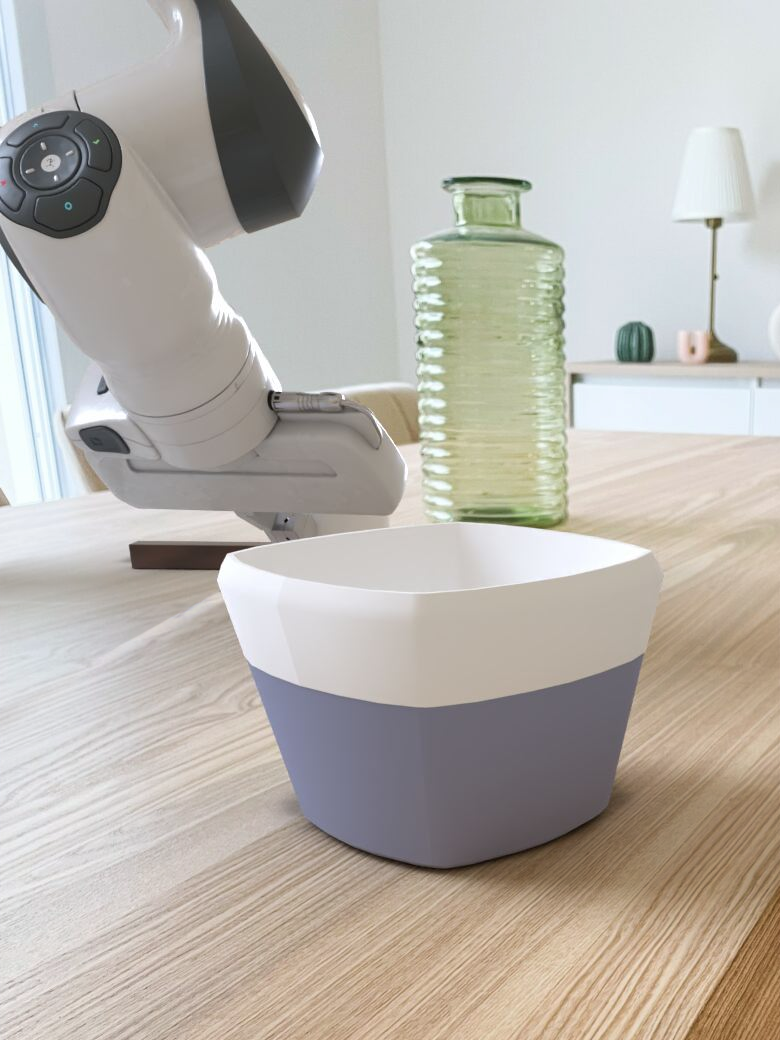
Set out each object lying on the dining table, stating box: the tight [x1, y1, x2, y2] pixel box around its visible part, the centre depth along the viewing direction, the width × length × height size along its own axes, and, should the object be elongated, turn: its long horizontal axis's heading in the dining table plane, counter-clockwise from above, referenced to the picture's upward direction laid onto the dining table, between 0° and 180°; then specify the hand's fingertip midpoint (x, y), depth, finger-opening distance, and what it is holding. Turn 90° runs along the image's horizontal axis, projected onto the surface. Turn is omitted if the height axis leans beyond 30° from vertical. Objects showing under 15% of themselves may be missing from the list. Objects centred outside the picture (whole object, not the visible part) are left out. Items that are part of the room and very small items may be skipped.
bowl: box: [216, 521, 665, 869], centre depth 54 cm, size 15×15×11 cm
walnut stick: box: [128, 540, 273, 570], centre depth 110 cm, size 12×2×2 cm, turn 88°
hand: (296, 536), depth 91 cm, fingers closed, pressing on beverage can
